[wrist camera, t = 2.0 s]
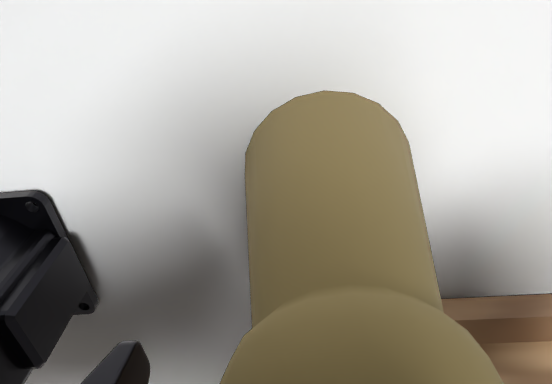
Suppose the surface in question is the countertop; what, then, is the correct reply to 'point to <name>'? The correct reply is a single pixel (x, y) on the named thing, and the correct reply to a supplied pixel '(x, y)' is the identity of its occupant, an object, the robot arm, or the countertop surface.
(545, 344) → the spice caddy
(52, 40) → the countertop surface
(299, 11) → the countertop surface
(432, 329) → the cork
